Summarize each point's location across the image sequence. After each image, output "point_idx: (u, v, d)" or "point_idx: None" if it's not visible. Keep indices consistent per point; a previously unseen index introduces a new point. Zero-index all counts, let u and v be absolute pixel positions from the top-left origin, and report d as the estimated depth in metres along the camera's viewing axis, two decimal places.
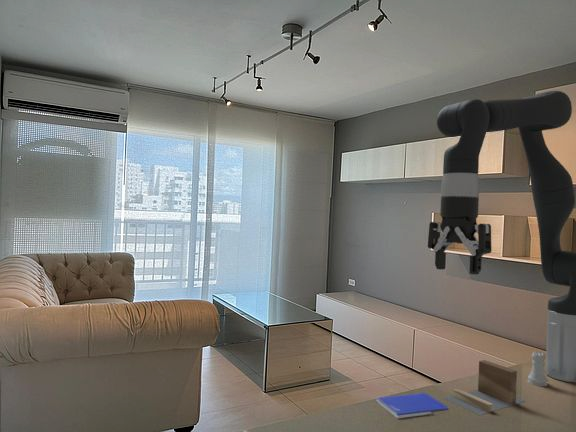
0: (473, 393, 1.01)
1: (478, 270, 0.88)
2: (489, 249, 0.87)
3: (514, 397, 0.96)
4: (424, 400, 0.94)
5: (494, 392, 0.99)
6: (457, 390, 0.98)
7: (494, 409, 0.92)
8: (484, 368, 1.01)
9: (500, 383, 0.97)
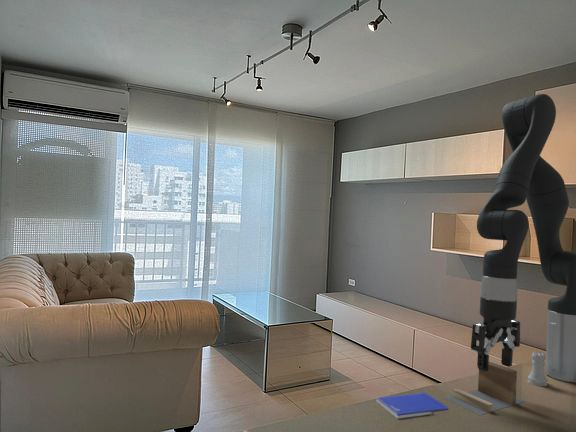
0: (473, 393, 1.01)
1: None
2: None
3: (514, 397, 0.96)
4: (423, 400, 0.94)
5: (494, 392, 0.99)
6: (457, 390, 0.98)
7: (494, 409, 0.92)
8: None
9: (500, 383, 0.97)
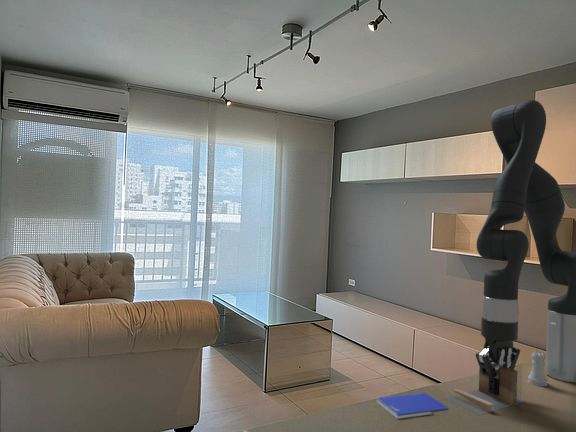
0: (473, 393, 1.01)
1: None
2: None
3: (515, 397, 0.96)
4: (423, 400, 0.94)
5: None
6: (457, 390, 0.98)
7: (494, 409, 0.92)
8: None
9: (501, 383, 0.97)
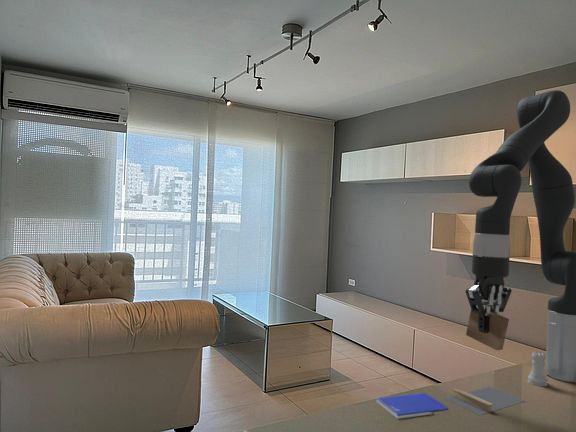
0: (473, 393, 1.01)
1: None
2: None
3: (502, 344, 0.95)
4: (423, 401, 0.94)
5: (482, 337, 0.97)
6: (457, 390, 0.98)
7: (494, 409, 0.92)
8: (476, 313, 0.99)
9: (490, 329, 0.96)
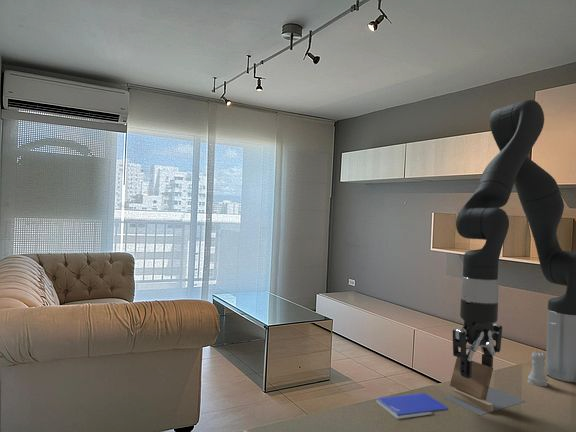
0: None
1: None
2: None
3: (485, 394, 0.94)
4: (423, 401, 0.94)
5: (466, 386, 0.97)
6: (457, 390, 0.98)
7: (494, 409, 0.92)
8: None
9: (474, 377, 0.96)
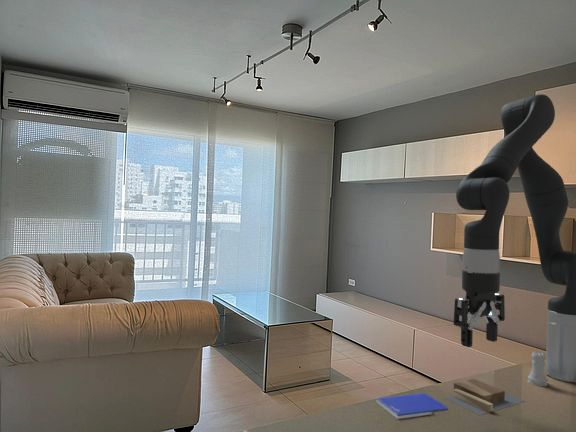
0: None
1: None
2: None
3: None
4: (423, 401, 0.94)
5: (473, 388, 0.98)
6: (457, 390, 0.98)
7: (494, 409, 0.92)
8: (475, 381, 1.03)
9: (486, 389, 0.98)
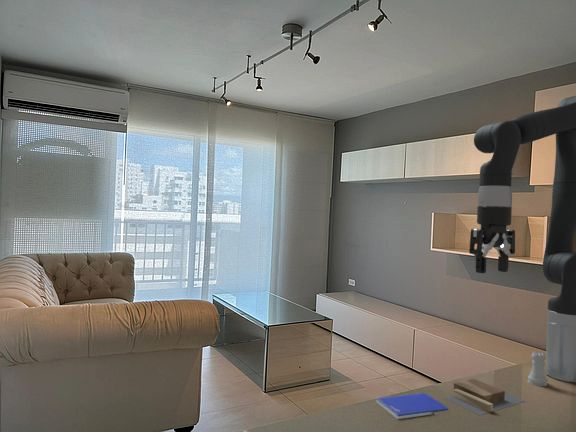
0: None
1: None
2: None
3: None
4: (423, 401, 0.94)
5: (473, 388, 0.98)
6: (457, 390, 0.98)
7: (494, 409, 0.92)
8: (475, 381, 1.03)
9: (486, 389, 0.98)
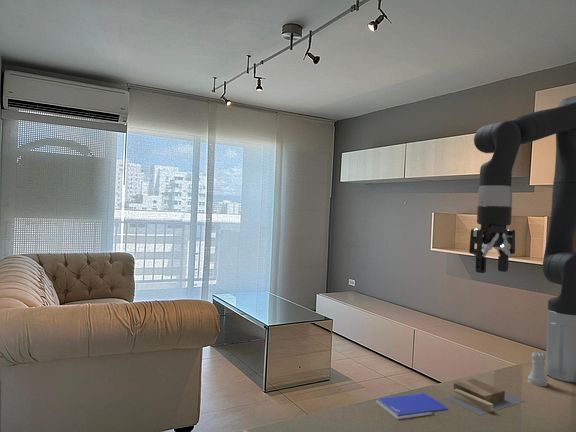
0: None
1: None
2: None
3: None
4: (423, 401, 0.94)
5: (473, 388, 0.98)
6: (457, 390, 0.98)
7: (494, 409, 0.92)
8: (475, 381, 1.03)
9: (486, 389, 0.98)
